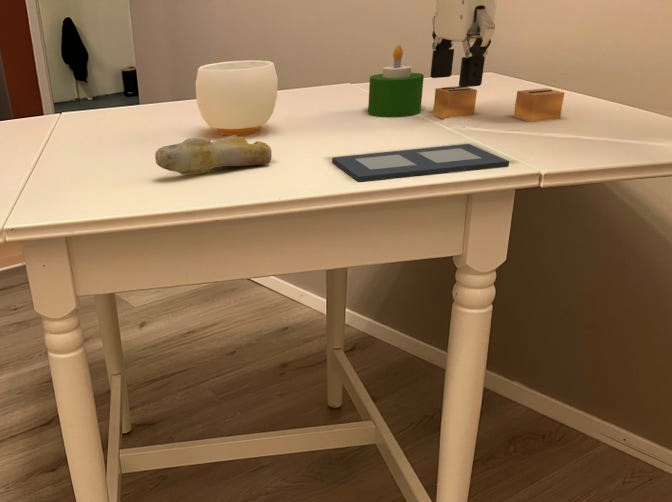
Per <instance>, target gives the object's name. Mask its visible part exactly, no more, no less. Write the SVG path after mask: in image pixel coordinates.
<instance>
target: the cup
mask: <svg viewBox="0 0 672 502" xmlns="http://www.w3.org/2000/svg"><path fill="white" fill-rule="evenodd" d="M196 73H197V74H196V79H195V97H196V99H195V100H196V104H197V107H198V110H199V112H200V116H201V118H202V119H203V120H204V122H205V123H206V124H207V125H208V126H209V127H210V128H213V129H215V130H217V131H219V134H220V135H222V136H226V137H228V136H232V135H237V136H238V137H241V136H242V137H243V136H249V135H252V134H255V133H256V132H257V131H258V129H259V128H260V127H262V126H263V125H265V124H267V123H268V122H269V120H270V119H271V117H272V115H273V113H274V111H275V107H276V102H277V99H278V75H277V70H276V66H275V64H274V62H273V61H269V60H259V59H258V60H256V59H255V60H251V59H250V60H249V59H248V60H232V61H231V60H230V61H223V62H222V61H221V62H215V63H209V64H204V65H200V66H199V67H198V69H197V71H196Z"/></svg>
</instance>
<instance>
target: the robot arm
mask: <svg viewBox="0 0 672 502" xmlns="http://www.w3.org/2000/svg"><path fill="white" fill-rule="evenodd" d="M497 2H498V1H497V0H436V5H435V13H434V15H433V17H432V20H431V21H432V33H431V36H432V40H433V42H432V44H431V48H432V54H431V55H432V56H431V67H430V78H432V79H440V78H451V76H452V73H453V63H454V54H455V48H453V46H454V44H455V42H458V43H461V44H462V47H463V52H464V56H463V57H461V63H460V72H459V79H458V86H460V87H469V88H473V87H480V86H481V85H482V83H483V76H484V68H485V61H486V60H485V59H486V57H487V56H488V52H489V51H488V48H489V47H490V45H491V43H492V40H491V39H492V37H493V35H494V32H495V27H496V24H495V21H496V12H497ZM472 43H473V44H472Z"/></svg>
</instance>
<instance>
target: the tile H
mask: <svg viewBox="0 0 672 502" xmlns="http://www.w3.org/2000/svg"><path fill="white" fill-rule="evenodd" d="M477 93H478V90H477V89H476V88H473V87H460V86H459V85H455V86H446V87H445V86H444V87H437V88H435V89H434V101H433V103H434V104H433V110H432V116H435V117H436V118H439V119H442V120H446V119H449V118H452V117H461V116H462V117H463V116H473V115H475V112H476V111H475V110H476V102H477Z"/></svg>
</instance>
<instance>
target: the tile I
mask: <svg viewBox="0 0 672 502" xmlns="http://www.w3.org/2000/svg"><path fill="white" fill-rule="evenodd" d="M564 98H565V92H564V91H560V90H555V89H553V88H552V89H551V88H545V87H544V88H535V89H534V88H533V89H524V90H517V91H516V97H515V103H514V110H513V117H514V118H517V119H519V120H523V121H526V122H530V123H532V122H533V123H534V122H542V121H552V120H561V115H562V109H563V103H564Z"/></svg>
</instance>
